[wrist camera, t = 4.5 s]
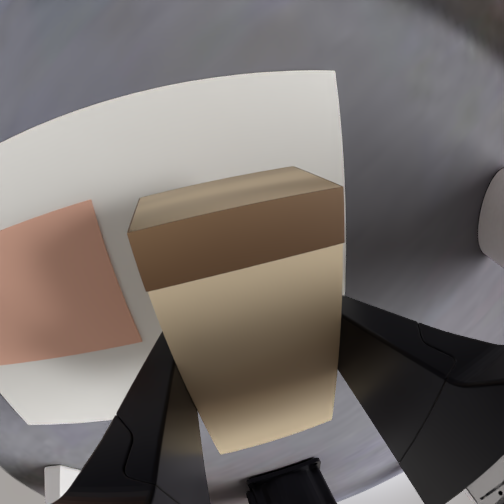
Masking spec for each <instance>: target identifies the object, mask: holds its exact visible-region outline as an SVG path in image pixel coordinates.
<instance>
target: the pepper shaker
mask: <svg viewBox="0 0 504 504" xmlns="http://www.w3.org/2000/svg"><path fill="white" fill-rule="evenodd" d="M80 471H81V470H79V469H75V468H71V467H67V466H63V465H56V466H47V467H45V469H44V473H45V503H46V504H51V503H53V502H55V501H56V500H58V499H59V498H60V497H61V496H63V495H64V493H65V492H66V491H67V490H68V489H69V487H70V486H71V484H72V483H73V482H74V480H75V479H76V477H77V476H78V474H79V473H80Z"/></svg>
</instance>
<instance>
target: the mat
mask: <svg viewBox="0 0 504 504" xmlns="http://www.w3.org/2000/svg"><path fill="white" fill-rule="evenodd" d="M291 166H294V167H297V168H300V169H302V170H305V171H307V172H310V173H312V174H315V175H317V176H319V177H322V178H324V179H327V180H329V181H332V182H334V183H336V184H339V185H341V186H343V187H344V221H345V243H343V282H342V295H344V296H345V274H346V206H345V178H344V160H343V144H342V132H341V120H340V110H339V100H338V91H337V83H336V75H335V71H328V70H306V71H277V72H262V73H250V74H239V75H230V76H222V77H215V78H208V79H201V80H195V81H189V82H184V83H178V84H173V85H168V86H163V87H159V88H154V89H150V90H146V91H141V92H137V93H133V94H130V95H126V96H122V97H118V98H115V99H111V100H108V101H105V102H101V103H98V104H95V105H92V106H89V107H86V108H83V109H80V110H77V111H74V112H71V113H69V114H66V115H63V116H61V117H58V118H55V119H53V120H50V121H48V122H45V123H43V124H40V125H38V126H36V127H33V128H31V129H29V130H27V131H24V132H22V133H20V134H18V135H16V136H14V137H11V138H9V139H7V140H5V141H3V142H1V143H0V393H1V395H2V396H3V397H4V398H5V399H6V401H7V402H8V403H9V404H10V405H11V406H12V407H13V409H14V410H15V411H16V412H17V413H18V414H19V415H20V416H21V417H22V419H23V420H24V421H25V422H26V423H27V424H28V425H49V424H70V423H84V422H95V421H105V420H113V418H114V416H115V415H116V413H117V411H118V409H119V407H120V405H121V403H122V402H123V400H124V398H125V396H126V394H127V392H128V391H129V389H130V387H131V385H132V383H133V382H134V380H135V378H136V376H137V374H138V373H139V371H140V369H141V367H142V365H143V364H144V362H145V360H146V358H147V357H148V355H149V353H150V351H151V350H152V348H153V346H154V344H155V343H156V341H157V339H158V337H159V336H160V334H161V332H162V329H161V326H160V324H159V321H158V318H157V316H156V313H155V310H154V308H153V305H152V302H151V300H150V297H149V294H148V292H146V291H145V288H144V285H143V282H142V279H141V276H140V273H139V271H138V268H137V264H136V261H135V258H134V255H133V252H132V249H131V246H130V242H129V239H128V236H127V231H128V228H129V225H130V222H131V219H132V216H133V214H134V211H135V208H136V205H137V203H138V200H139V198H141V197H145V196H149V195H153V194H157V193H161V192H165V191H169V190H174V189H178V188H182V187H187V186H191V185H196V184H200V183H205V182H210V181H214V180H219V179H224V178H229V177H234V176H239V175H245V174H250V173H256V172H261V171H267V170H273V169H279V168H285V167H291Z"/></svg>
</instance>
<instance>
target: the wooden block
mask: <svg viewBox="0 0 504 504" xmlns="http://www.w3.org/2000/svg"><path fill="white" fill-rule="evenodd" d="M127 236H128V239H129V242H130V246H131V249H132V252H133V255H134V258H135V261H136V264H137V268H138V271H139V273H140V276H141V279H142V282H143V285H144V288H145V291H146V292H148V294H149V297H150V300H151V302H152V305H153V308H154V310H155V313H156V316H157V318H158V321H159V324H160V326H161V329H162V331H163V334H164V336H165V339H166V341H167V344H168V346H169V348H170V351H171V353H172V356H173V358H174V360H175V363H176V365H177V367H178V370H179V372H180V374H181V376H182V379H183V381H184V383H185V385H186V387H187V389H188V392H189V394H190V396H191V398H192V400H193V402H194V404H195V406H196V408H197V410H198V412H199V414H200V417H201V419H202V420H203V422H204V424H205V426H206V428H207V430H208V432H209V434H210V436H211V438H212V440H213V442H214V444H215V445H216V447H217V449H218V451H219V453H220V455H221V454H226V453H230V452H234V451H238V450H242V449H246V448H249V447H253V446H257V445H260V444H264V443H267V442H270V441H274V440H277V439H280V438H283V437H286V436H289V435H292V434H295V433H298V432H301V431H304V430H306V429H309V428H312V427H315V426H317V425H320V424H322V423H325V422H327V421H330V420H332V414H333V406H334V398H335V389H336V379H337V368H338V357H339V344H340V328H341V310H342V282H343V243H345V221H344V187H343V186H341V185H339V184H336V183H334V182H332V181H329V180H327V179H324V178H322V177H319V176H317V175H315V174H312V173H310V172H307V171H305V170H302V169H300V168H297V167H294V166H291V167H285V168H279V169H273V170H267V171H261V172H256V173H250V174H245V175H239V176H234V177H229V178H224V179H219V180H214V181H210V182H205V183H200V184H196V185H191V186H187V187H182V188H178V189H174V190H169V191H165V192H161V193H157V194H153V195H149V196H145V197H141V198H139V200H138V203H137V205H136V208H135V211H134V214H133V216H132V219H131V222H130V225H129V228H128V231H127Z"/></svg>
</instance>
